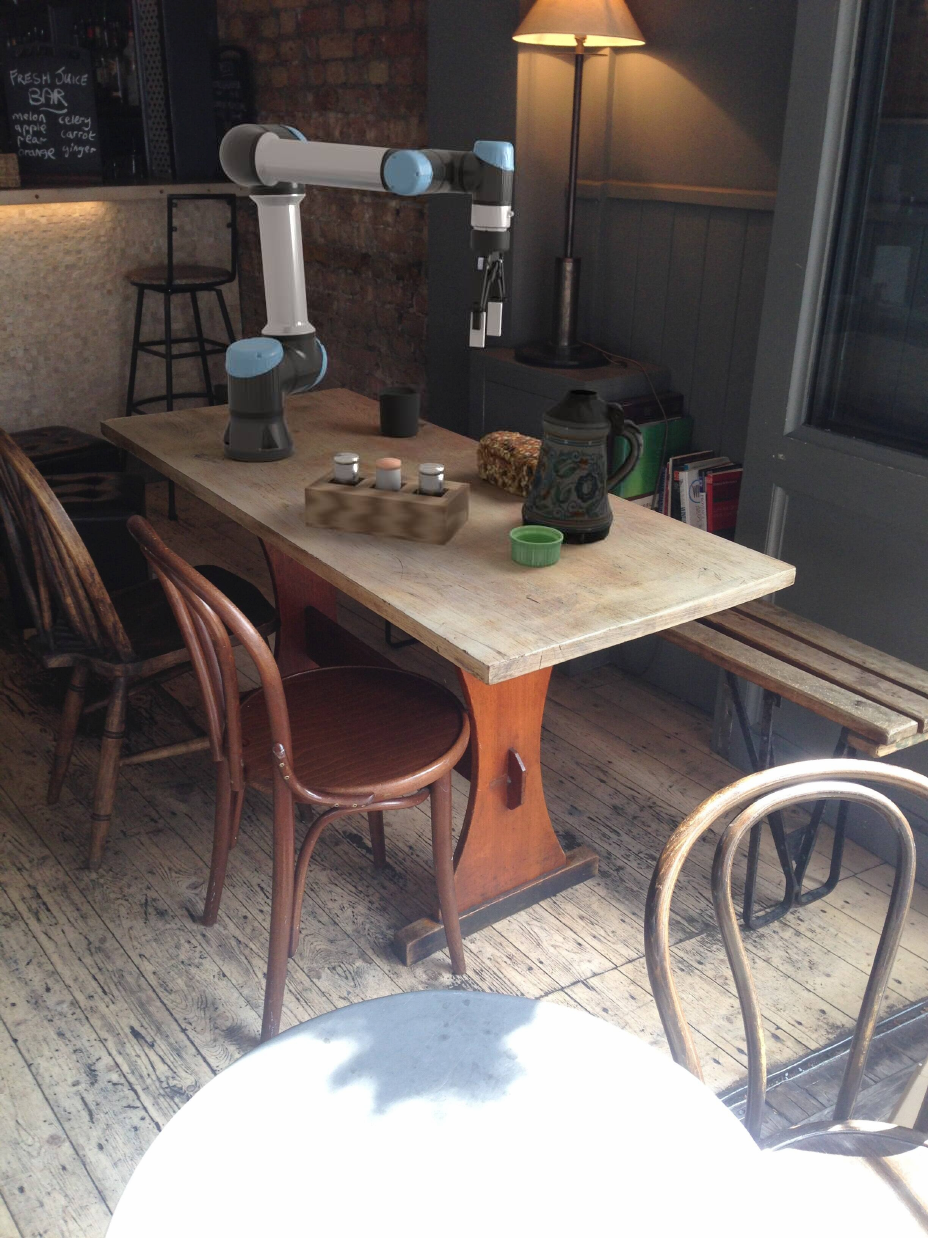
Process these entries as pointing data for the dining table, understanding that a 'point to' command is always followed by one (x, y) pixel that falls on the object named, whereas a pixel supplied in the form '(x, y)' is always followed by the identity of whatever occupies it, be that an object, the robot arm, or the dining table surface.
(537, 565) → the ramekin
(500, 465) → the bread
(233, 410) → the robot arm
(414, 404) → the pen holder
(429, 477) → the plug
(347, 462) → the plug
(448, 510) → the block
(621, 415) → the beer stein
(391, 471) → the plug terracotta
